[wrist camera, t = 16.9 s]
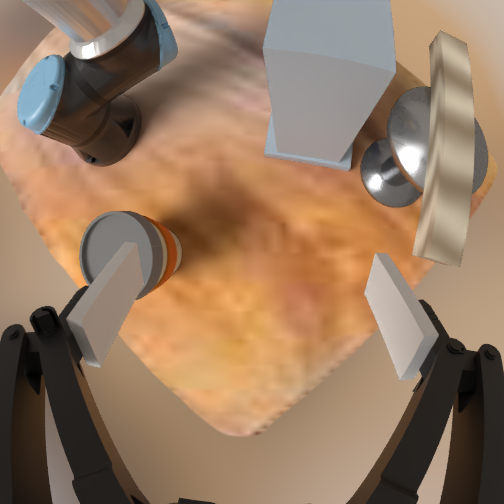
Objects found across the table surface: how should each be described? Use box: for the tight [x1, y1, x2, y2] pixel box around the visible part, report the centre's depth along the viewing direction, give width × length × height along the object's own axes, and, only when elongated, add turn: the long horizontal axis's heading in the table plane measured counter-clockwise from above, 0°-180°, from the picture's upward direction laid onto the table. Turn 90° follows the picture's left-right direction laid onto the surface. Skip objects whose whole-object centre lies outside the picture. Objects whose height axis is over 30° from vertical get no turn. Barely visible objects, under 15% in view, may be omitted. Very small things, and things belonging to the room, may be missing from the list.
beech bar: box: [412, 31, 475, 267], centre depth 25 cm, size 28×4×4 cm, turn 166°
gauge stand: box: [263, 0, 396, 171], centre depth 32 cm, size 13×14×30 cm
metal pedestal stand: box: [360, 87, 488, 208], centre depth 36 cm, size 14×14×19 cm
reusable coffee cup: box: [79, 211, 182, 300], centre depth 43 cm, size 13×13×15 cm
